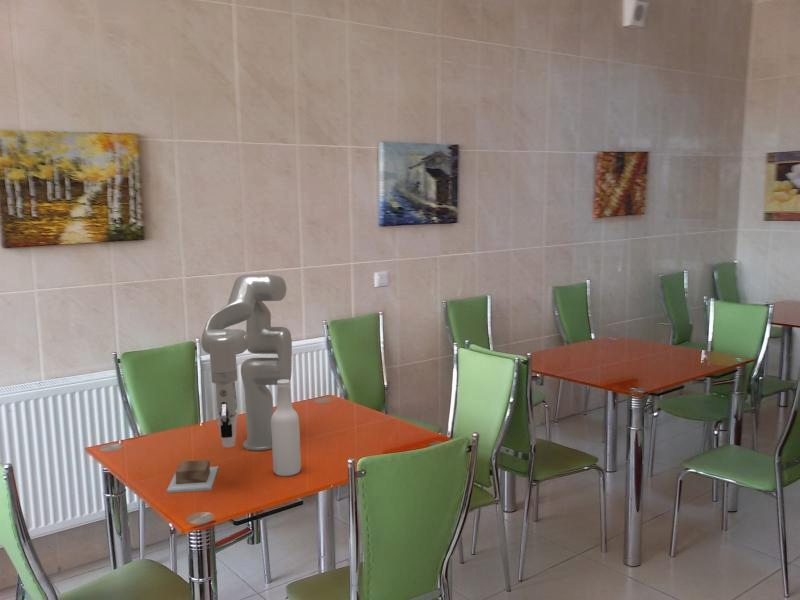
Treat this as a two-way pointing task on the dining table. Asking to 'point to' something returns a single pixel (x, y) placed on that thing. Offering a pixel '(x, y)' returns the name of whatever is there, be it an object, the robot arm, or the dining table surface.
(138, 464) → the dining table surface
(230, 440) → the smoothie
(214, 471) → the base
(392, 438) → the dining table surface
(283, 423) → the alcohol
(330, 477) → the dining table surface
